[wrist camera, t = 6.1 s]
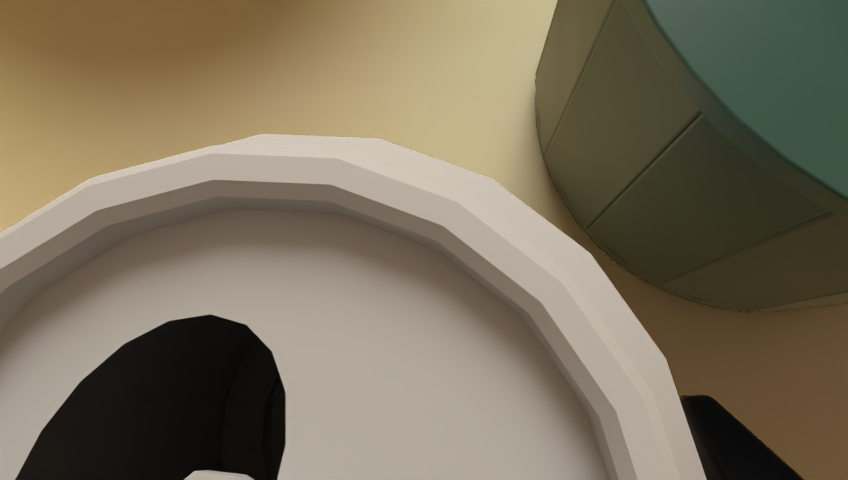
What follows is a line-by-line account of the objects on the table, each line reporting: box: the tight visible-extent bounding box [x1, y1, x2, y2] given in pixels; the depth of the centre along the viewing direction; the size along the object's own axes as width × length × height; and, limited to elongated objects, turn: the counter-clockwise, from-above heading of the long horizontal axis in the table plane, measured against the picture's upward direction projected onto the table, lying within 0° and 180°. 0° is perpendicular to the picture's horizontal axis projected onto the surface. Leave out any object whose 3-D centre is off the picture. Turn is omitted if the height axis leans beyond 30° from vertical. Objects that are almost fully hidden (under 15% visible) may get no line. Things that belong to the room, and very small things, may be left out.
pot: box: [535, 0, 848, 312], centre depth 13 cm, size 11×11×8 cm
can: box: [0, 134, 707, 480], centre depth 10 cm, size 8×8×12 cm
